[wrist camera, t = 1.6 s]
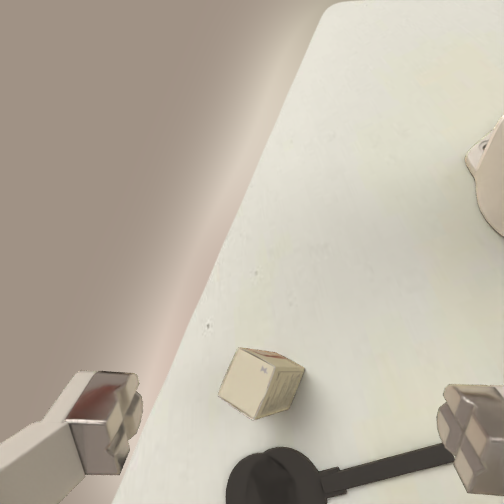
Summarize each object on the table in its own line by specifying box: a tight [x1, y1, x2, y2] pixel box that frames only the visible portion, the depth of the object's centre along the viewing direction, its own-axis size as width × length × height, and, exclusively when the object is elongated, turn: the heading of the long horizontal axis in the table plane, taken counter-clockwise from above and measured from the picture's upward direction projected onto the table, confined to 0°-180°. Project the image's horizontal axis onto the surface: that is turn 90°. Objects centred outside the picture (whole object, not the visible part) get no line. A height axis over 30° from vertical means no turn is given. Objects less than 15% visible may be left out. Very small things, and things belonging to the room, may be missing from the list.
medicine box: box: [218, 347, 305, 420], centre depth 35 cm, size 5×4×10 cm
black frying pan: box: [226, 443, 455, 504], centre depth 34 cm, size 24×9×1 cm, turn 107°
